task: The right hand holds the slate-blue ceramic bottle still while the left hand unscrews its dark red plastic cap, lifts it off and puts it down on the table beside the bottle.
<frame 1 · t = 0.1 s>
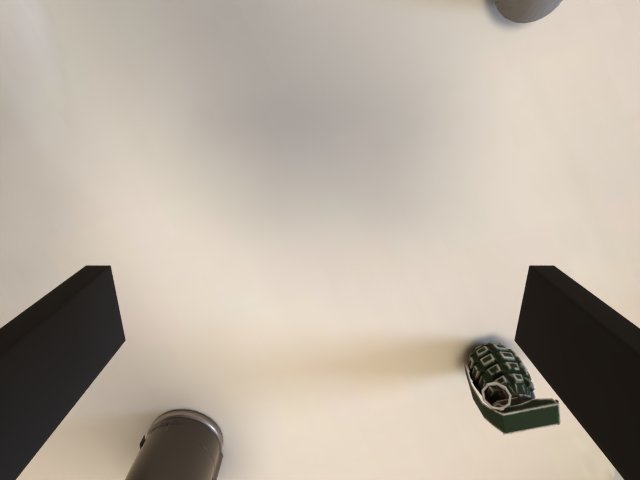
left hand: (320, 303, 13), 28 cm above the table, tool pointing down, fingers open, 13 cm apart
grenade: (483, 354, 47), on the table
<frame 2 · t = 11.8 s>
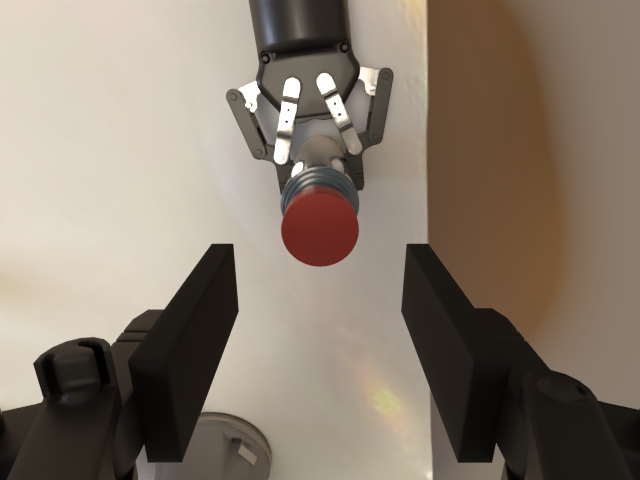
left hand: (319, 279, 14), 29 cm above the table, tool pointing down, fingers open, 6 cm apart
right hand: (324, 198, 36), fingers closed on bottle, 4 cm apart
bottle: (320, 158, 41), on the table, touching right hand
cap: (319, 229, 20), point 23 cm above the table, screwed on, not yet turned
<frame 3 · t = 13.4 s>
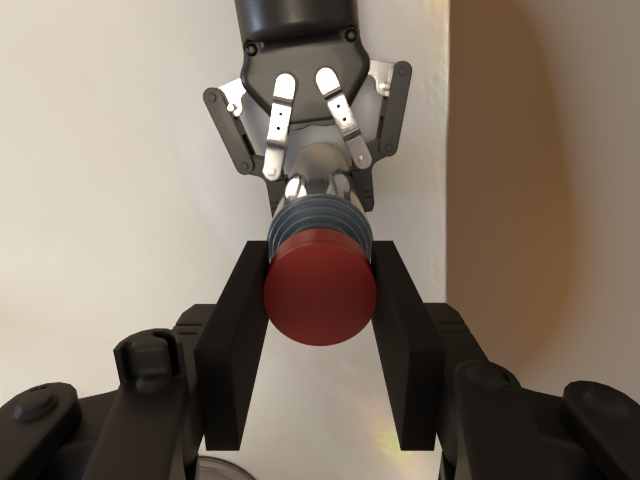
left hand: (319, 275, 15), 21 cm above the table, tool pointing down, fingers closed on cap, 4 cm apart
right hand: (324, 220, 30), fingers closed on bottle, 4 cm apart
bottle: (320, 170, 35), on the table, touching right hand
cap: (320, 293, 13), point 23 cm above the table, screwed on, not yet turned, touching left hand
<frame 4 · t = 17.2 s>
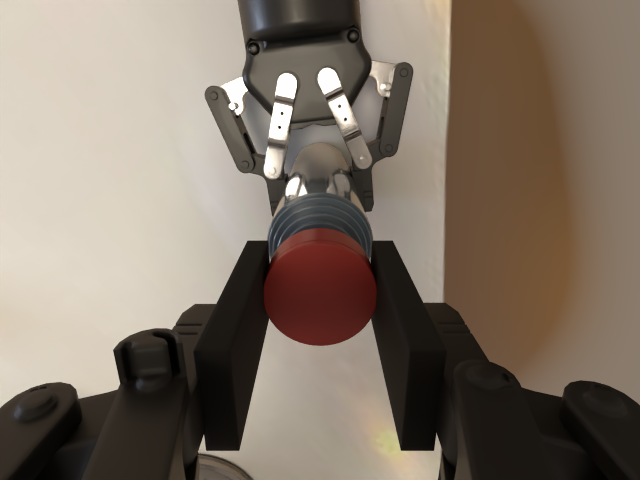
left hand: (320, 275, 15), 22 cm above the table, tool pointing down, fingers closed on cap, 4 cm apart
right hand: (324, 220, 30), fingers closed on bottle, 4 cm apart
bottle: (320, 169, 35), on the table, touching right hand
cap: (320, 293, 13), point 23 cm above the table, turned 143° so far, risen 0.1 cm, still on its thread, touching left hand
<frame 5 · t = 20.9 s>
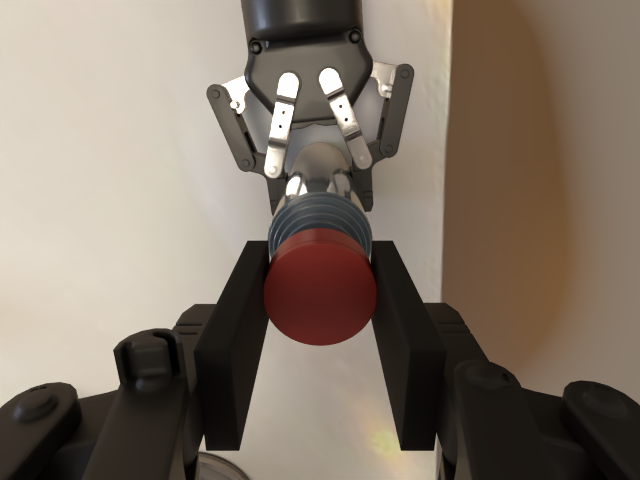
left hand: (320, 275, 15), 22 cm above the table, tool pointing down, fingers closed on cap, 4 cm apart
right hand: (323, 219, 30), fingers closed on bottle, 4 cm apart
bottle: (320, 169, 35), on the table, touching right hand
cap: (320, 293, 13), point 23 cm above the table, turned 285° so far, risen 0.3 cm, still on its thread, touching left hand
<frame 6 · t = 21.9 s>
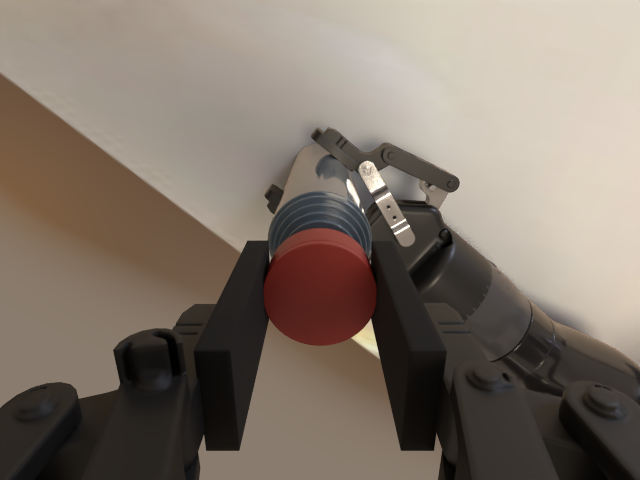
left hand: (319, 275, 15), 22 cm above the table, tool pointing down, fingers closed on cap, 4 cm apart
right hand: (291, 162, 29), fingers closed on bottle, 4 cm apart
bottle: (320, 169, 35), on the table, touching right hand
cap: (320, 293, 13), point 23 cm above the table, off its thread, touching left hand
when the left hand's fingers open (1 cm above the table, at t = 29.0 s): cap drops 1 cm, point 1 cm above the table.
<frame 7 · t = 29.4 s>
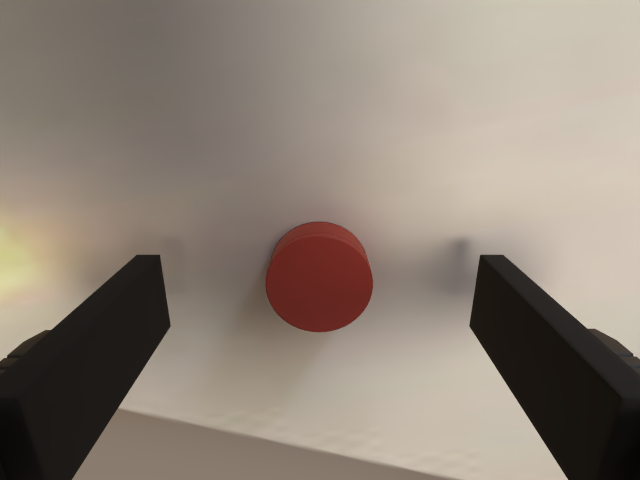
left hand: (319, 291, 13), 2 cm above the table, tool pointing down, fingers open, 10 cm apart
cap: (319, 282, 14), point 1 cm above the table, off its thread
when the right hand's fingers open (6 cm above the table, at t = 30.3 s): bottle stays where it is, on the table.
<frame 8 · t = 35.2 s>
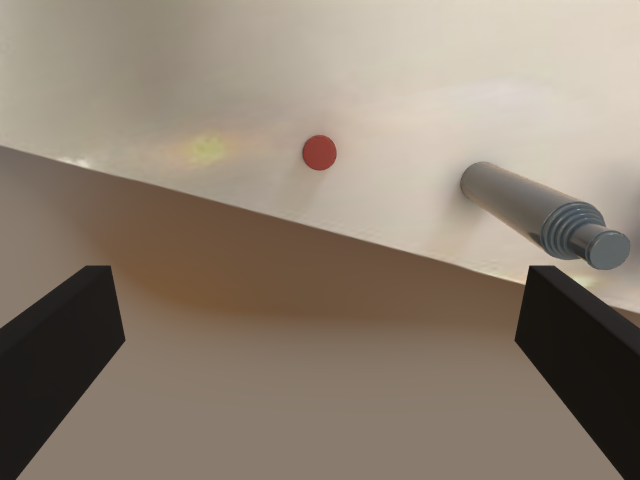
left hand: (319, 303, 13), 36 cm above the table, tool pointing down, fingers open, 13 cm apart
bottle: (480, 181, 48), on the table
cap: (319, 153, 45), point 1 cm above the table, off its thread
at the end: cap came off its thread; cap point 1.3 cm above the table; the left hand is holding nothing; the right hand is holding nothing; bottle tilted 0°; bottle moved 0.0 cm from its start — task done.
